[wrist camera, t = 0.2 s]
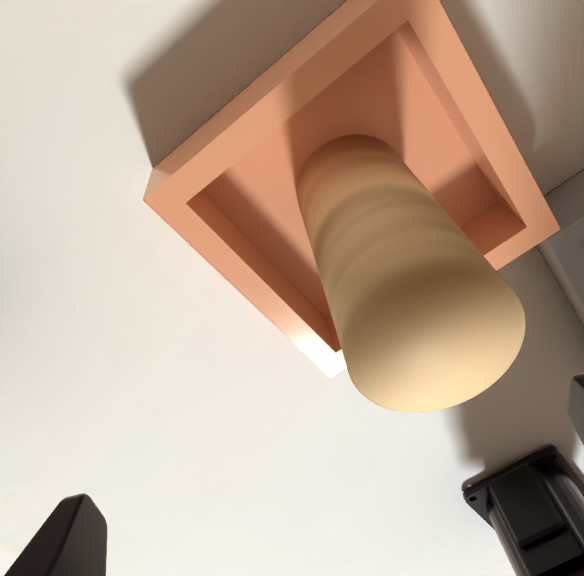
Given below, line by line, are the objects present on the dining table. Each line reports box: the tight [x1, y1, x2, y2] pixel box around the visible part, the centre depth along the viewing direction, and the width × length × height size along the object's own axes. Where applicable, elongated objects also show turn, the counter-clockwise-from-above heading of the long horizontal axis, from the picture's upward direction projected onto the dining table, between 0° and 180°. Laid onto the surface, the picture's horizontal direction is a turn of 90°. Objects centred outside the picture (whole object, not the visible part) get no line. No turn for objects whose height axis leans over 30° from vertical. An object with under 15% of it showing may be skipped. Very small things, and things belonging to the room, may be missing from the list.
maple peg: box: [297, 134, 526, 413], centre depth 17 cm, size 4×4×10 cm
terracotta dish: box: [143, 0, 561, 378], centre depth 20 cm, size 11×11×3 cm
